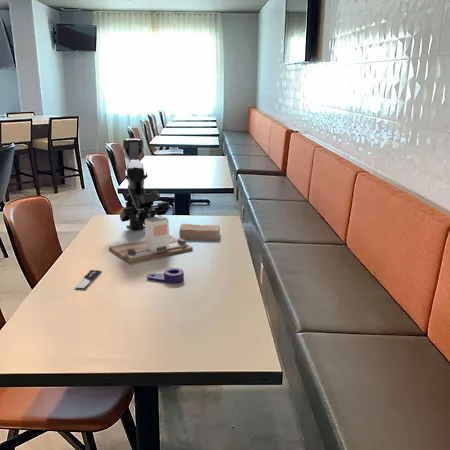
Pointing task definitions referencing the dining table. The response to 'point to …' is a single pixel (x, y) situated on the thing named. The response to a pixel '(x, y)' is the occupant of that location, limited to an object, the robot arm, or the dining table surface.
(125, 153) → the robot arm
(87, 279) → the computer memory module
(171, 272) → the lever
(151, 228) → the relay module
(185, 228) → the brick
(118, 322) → the dining table surface
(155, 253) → the board
